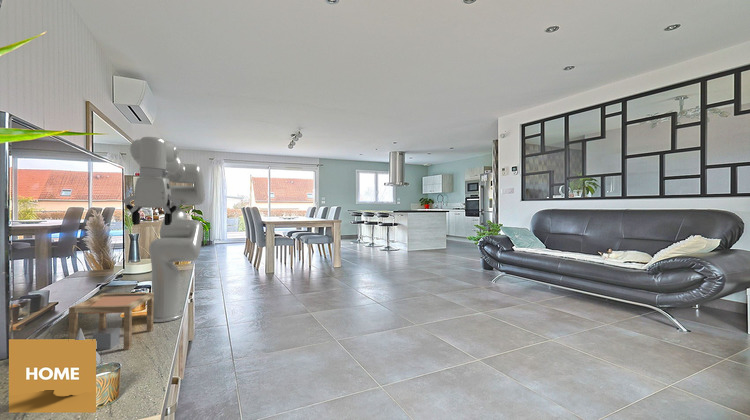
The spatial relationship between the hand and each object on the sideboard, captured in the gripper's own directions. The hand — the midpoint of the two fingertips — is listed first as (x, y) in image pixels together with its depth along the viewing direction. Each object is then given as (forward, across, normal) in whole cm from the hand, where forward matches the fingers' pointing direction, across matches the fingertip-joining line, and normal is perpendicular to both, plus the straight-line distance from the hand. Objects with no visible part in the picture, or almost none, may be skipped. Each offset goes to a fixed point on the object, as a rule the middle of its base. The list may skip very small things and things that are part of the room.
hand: (152, 224), depth 117 cm
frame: (+38, +10, +2) cm, 40 cm away
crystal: (+39, +3, +31) cm, 50 cm away
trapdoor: (+27, +10, +1) cm, 29 cm away
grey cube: (+36, +10, +4) cm, 37 cm away
